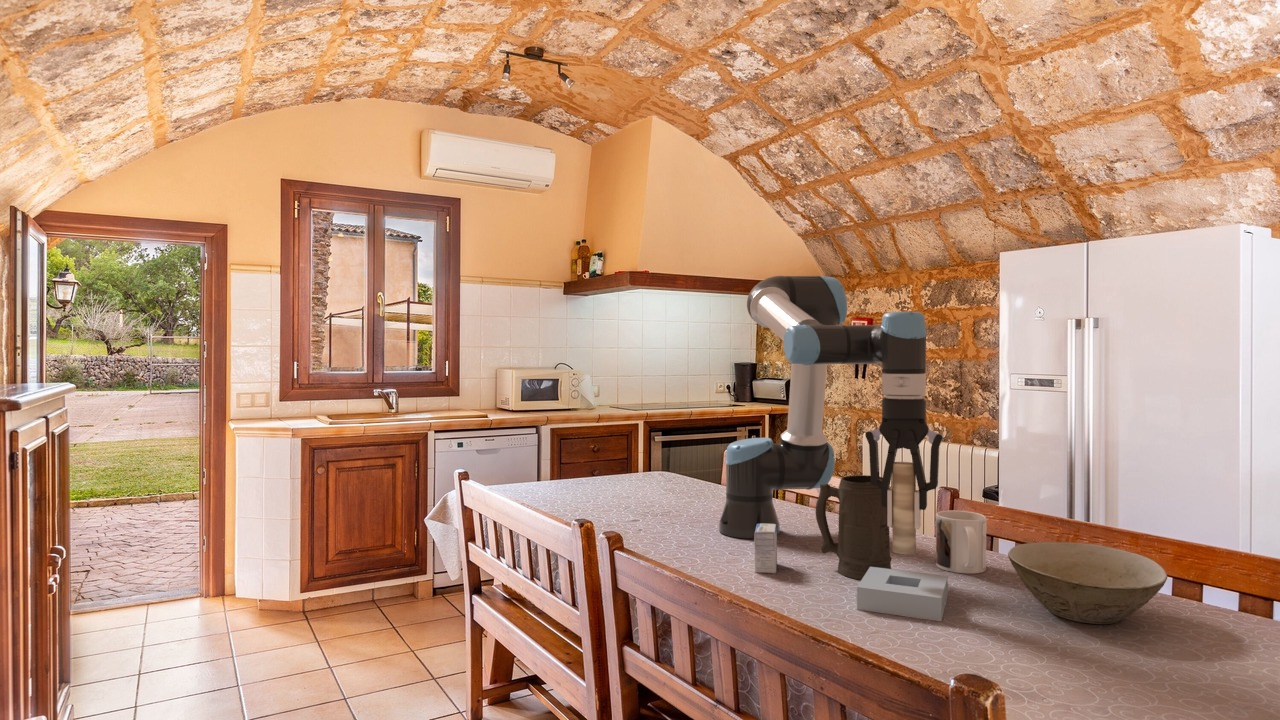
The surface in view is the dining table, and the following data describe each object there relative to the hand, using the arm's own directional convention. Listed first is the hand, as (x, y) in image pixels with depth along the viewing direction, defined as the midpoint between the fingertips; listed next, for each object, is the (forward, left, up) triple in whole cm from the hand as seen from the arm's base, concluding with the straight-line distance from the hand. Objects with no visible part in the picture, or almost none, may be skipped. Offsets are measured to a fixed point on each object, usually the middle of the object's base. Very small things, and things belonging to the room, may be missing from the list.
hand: (904, 525), depth 139 cm
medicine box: (-11, -29, -14) cm, 34 cm away
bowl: (-7, +29, -14) cm, 33 cm away
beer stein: (-16, -12, -14) cm, 25 cm away
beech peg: (0, 0, -5) cm, 5 cm away
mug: (-28, +8, -14) cm, 33 cm away
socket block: (0, 0, -14) cm, 14 cm away
